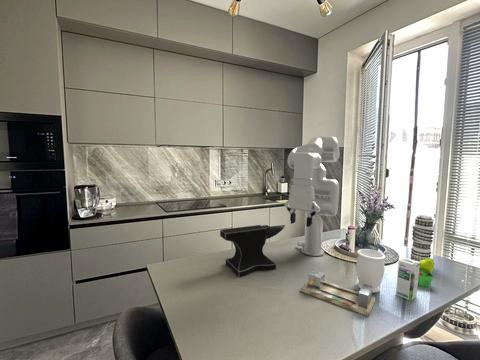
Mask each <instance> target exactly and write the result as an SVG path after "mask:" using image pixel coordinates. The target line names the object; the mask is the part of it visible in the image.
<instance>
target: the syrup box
mask: <svg viewBox="0 0 480 360" xmlns="http://www.w3.org/2000/svg"><path fill="white" fill-rule="evenodd" d="M419 267H420V262H417V261H414V260H411V259H410V258H407V257H402V258H400V259H399V260H398V264H397V278H396V288H395V295H396V296H398V297H401V298H404V299H406V300H408V301H410V302H412V301H413V300H414V299H415V298H416V297H417V296H418V295H417V293H418V286H419V285H418V277H419Z"/></svg>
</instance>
